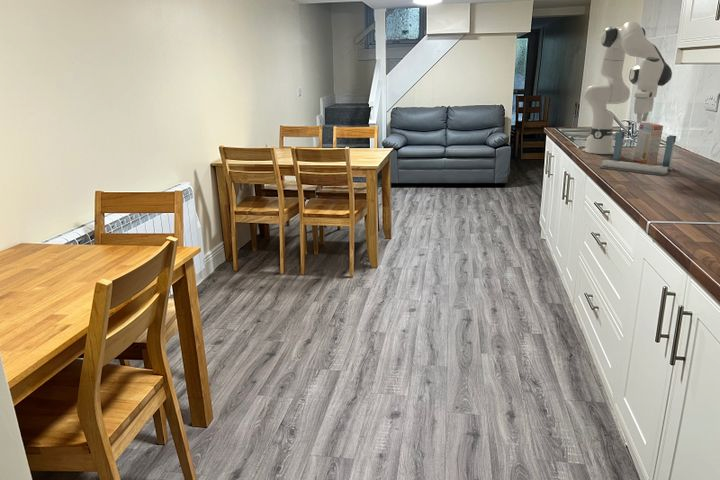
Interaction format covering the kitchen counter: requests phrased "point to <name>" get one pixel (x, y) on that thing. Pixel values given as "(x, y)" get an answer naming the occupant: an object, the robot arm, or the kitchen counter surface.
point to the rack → (666, 162)
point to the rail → (635, 166)
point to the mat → (634, 171)
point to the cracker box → (648, 143)
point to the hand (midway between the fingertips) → (641, 122)
